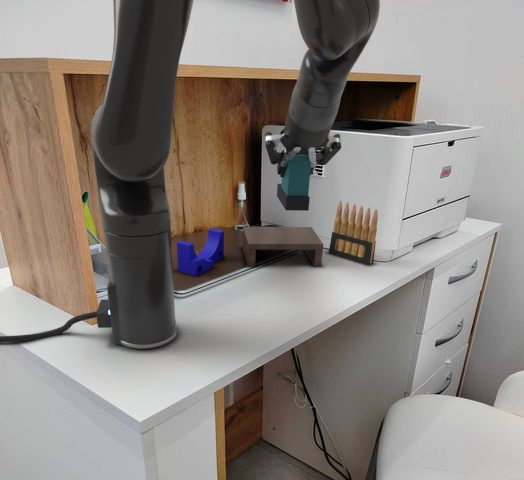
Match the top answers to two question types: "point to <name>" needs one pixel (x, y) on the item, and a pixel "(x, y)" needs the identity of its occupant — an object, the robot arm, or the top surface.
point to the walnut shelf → (282, 241)
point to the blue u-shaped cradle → (201, 254)
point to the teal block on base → (295, 184)
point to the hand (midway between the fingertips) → (293, 173)
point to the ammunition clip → (354, 235)
